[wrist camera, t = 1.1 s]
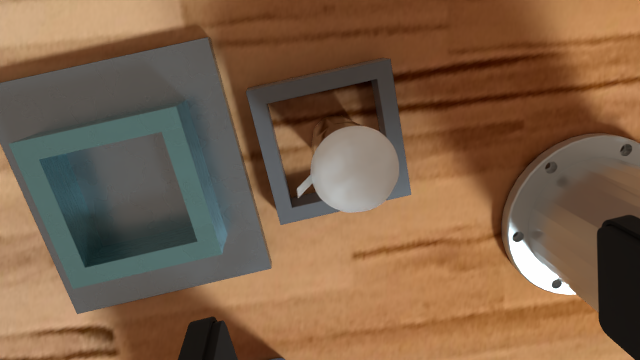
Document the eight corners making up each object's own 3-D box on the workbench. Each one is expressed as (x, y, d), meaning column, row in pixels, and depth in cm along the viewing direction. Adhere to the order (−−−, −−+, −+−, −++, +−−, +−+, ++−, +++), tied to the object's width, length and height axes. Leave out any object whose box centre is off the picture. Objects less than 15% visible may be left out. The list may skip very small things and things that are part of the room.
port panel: (209, 37, 27) (199, 36, 24) (271, 261, 32) (270, 290, 29) (-14, 86, 27) (-62, 93, 23) (83, 305, 32) (56, 341, 28)
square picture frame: (382, 57, 29) (390, 58, 27) (403, 185, 32) (411, 194, 30) (247, 88, 29) (246, 91, 27) (280, 214, 31) (280, 225, 29)
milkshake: (285, 112, 29) (289, 145, 20) (364, 99, 29) (405, 126, 20) (295, 177, 31) (304, 237, 21) (371, 164, 31) (413, 218, 21)
